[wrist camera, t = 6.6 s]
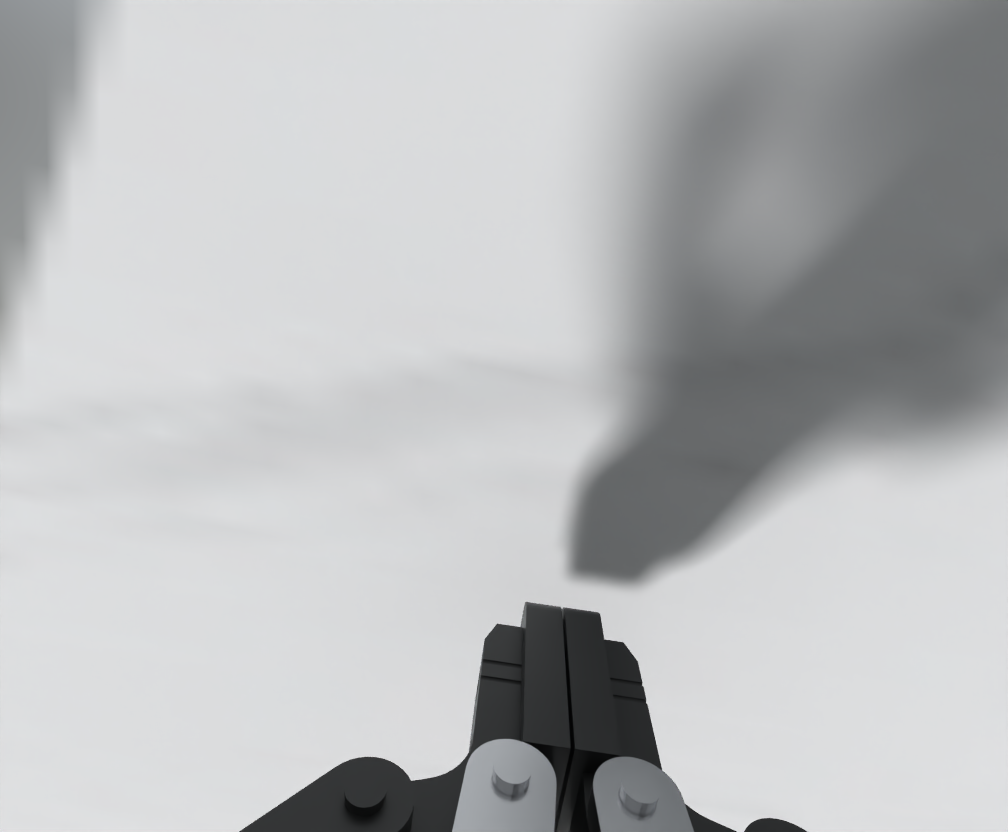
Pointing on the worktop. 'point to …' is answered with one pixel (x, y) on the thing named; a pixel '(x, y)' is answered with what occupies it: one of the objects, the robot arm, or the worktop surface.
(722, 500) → the worktop surface
